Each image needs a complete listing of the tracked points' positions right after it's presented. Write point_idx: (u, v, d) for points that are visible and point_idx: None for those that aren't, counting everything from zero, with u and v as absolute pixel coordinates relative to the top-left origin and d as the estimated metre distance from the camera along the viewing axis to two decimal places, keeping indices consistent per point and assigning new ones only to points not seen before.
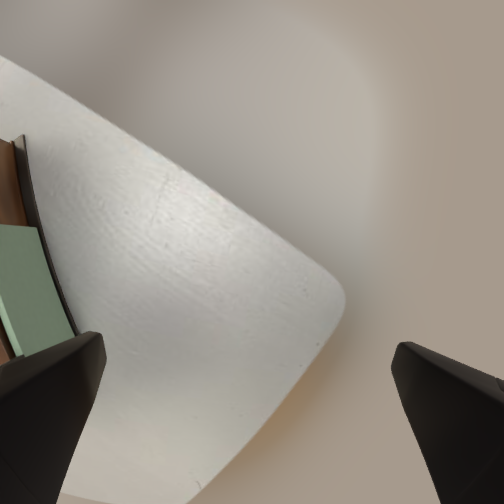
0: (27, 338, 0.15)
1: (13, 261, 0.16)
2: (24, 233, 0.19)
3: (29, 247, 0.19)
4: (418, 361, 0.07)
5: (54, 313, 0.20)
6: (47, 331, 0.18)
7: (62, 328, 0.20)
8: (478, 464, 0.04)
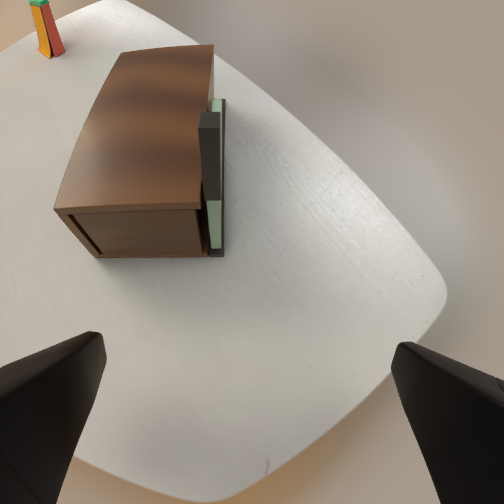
0: None
1: None
2: None
3: None
4: (418, 361, 0.07)
5: None
6: (220, 207, 0.22)
7: None
8: (478, 464, 0.04)
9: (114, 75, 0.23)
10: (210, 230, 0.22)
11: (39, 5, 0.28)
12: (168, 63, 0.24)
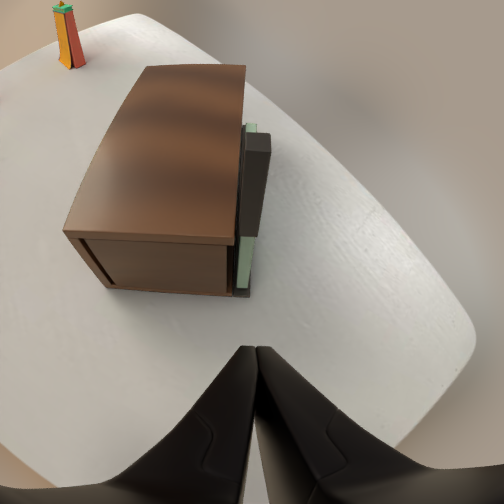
0: None
1: None
2: None
3: None
4: None
5: None
6: None
7: None
8: None
9: (138, 88, 0.23)
10: (239, 268, 0.20)
11: (63, 12, 0.31)
12: (197, 81, 0.23)
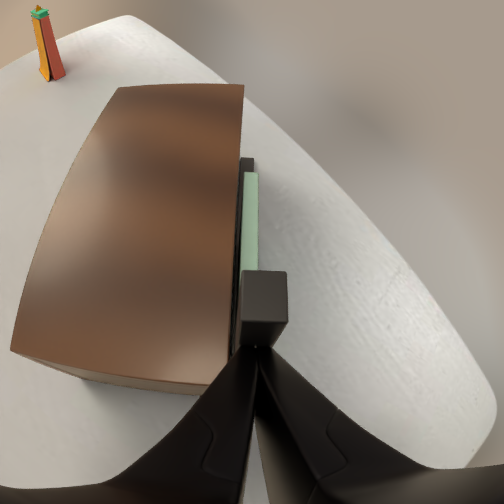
0: None
1: None
2: None
3: None
4: None
5: None
6: None
7: None
8: None
9: (104, 122, 0.17)
10: None
11: (38, 18, 0.26)
12: (180, 110, 0.18)
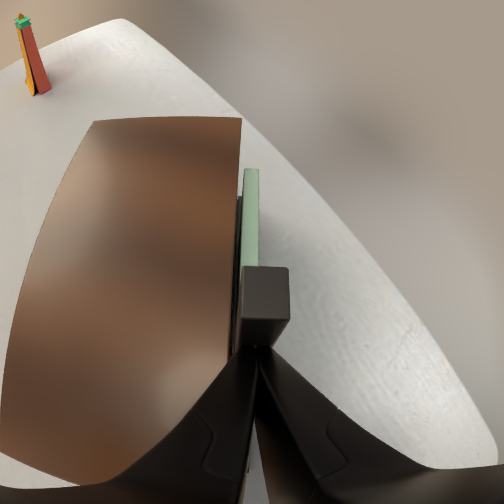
0: None
1: None
2: None
3: None
4: None
5: None
6: None
7: None
8: None
9: (75, 173, 0.15)
10: None
11: (20, 27, 0.23)
12: (163, 156, 0.16)
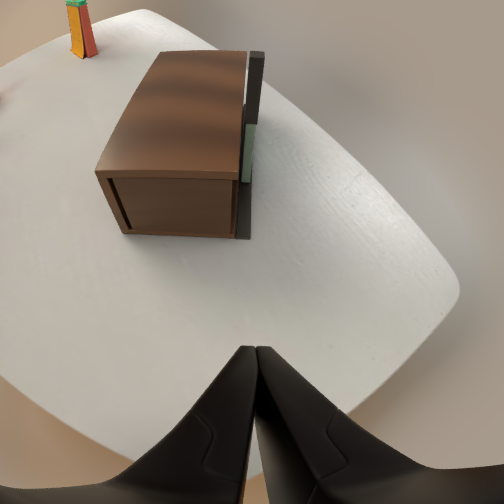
0: None
1: None
2: None
3: None
4: None
5: None
6: None
7: None
8: None
9: (155, 69, 0.26)
10: (243, 158, 0.26)
11: (77, 5, 0.34)
12: (206, 63, 0.27)
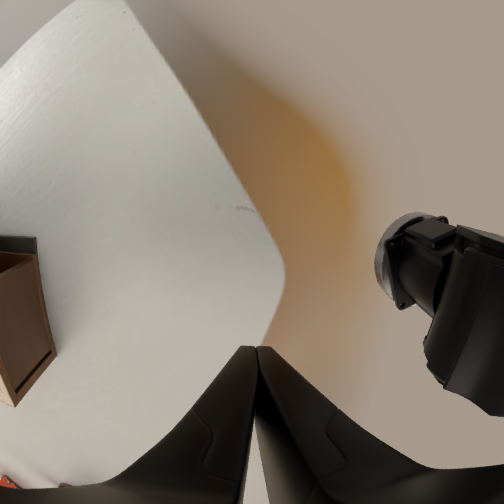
0: None
1: None
2: None
3: None
4: None
5: None
6: None
7: None
8: None
9: None
10: None
11: None
12: None
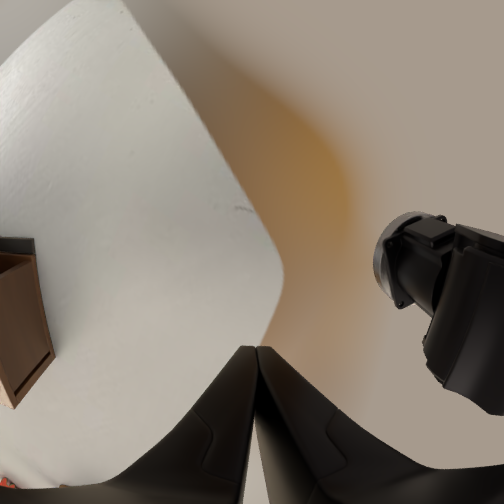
0: None
1: None
2: None
3: None
4: None
5: None
6: None
7: None
8: None
9: None
10: None
11: None
12: None
